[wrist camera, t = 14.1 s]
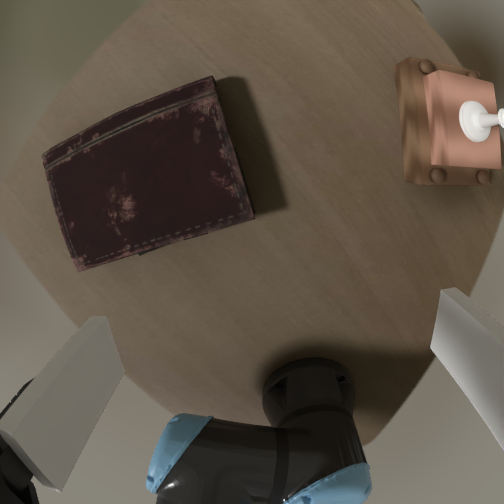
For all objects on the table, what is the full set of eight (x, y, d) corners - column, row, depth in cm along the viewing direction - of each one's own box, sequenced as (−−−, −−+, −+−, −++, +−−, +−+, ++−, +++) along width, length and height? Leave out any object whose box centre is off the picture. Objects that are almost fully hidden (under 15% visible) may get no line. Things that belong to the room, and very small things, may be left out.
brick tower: (469, 182, 36) (508, 189, 27) (404, 181, 37) (439, 188, 28) (460, 78, 31) (496, 67, 23) (393, 66, 32) (424, 47, 23)
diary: (58, 150, 37) (38, 150, 32) (216, 81, 34) (209, 70, 30) (95, 267, 42) (78, 279, 37) (257, 218, 39) (256, 226, 34)
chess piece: (452, 108, 25) (511, 98, 16) (477, 95, 24) (534, 85, 15) (469, 148, 26) (530, 151, 17) (493, 133, 26) (551, 134, 16)
